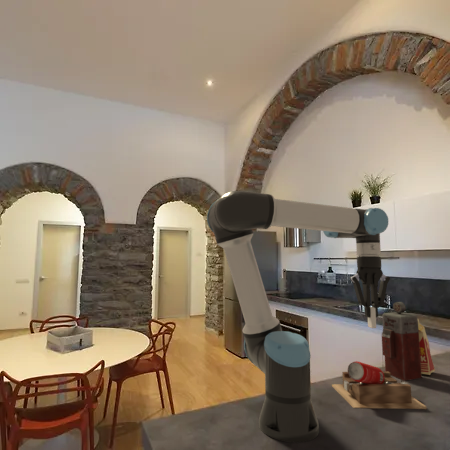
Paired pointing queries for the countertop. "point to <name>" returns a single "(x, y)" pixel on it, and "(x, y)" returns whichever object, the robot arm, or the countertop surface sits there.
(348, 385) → the plunger
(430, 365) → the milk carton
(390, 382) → the plunger
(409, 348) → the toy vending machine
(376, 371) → the beverage can
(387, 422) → the countertop surface
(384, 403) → the holder
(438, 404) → the countertop surface
